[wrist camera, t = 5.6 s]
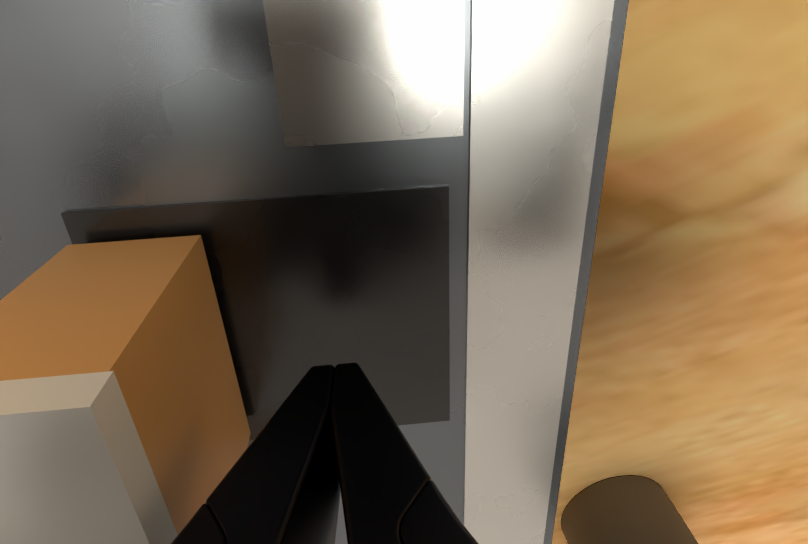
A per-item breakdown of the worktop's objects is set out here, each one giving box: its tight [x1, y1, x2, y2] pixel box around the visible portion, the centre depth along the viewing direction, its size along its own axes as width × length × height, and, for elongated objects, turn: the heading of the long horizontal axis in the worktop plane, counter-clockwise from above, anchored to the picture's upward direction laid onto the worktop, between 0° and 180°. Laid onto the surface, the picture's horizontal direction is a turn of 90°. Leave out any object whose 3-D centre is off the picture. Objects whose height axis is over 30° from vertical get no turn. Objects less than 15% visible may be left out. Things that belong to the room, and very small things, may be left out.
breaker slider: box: [0, 235, 251, 544], centre depth 8 cm, size 2×5×5 cm, turn 3°
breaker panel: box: [0, 0, 629, 544], centre depth 11 cm, size 13×20×5 cm, turn 3°
